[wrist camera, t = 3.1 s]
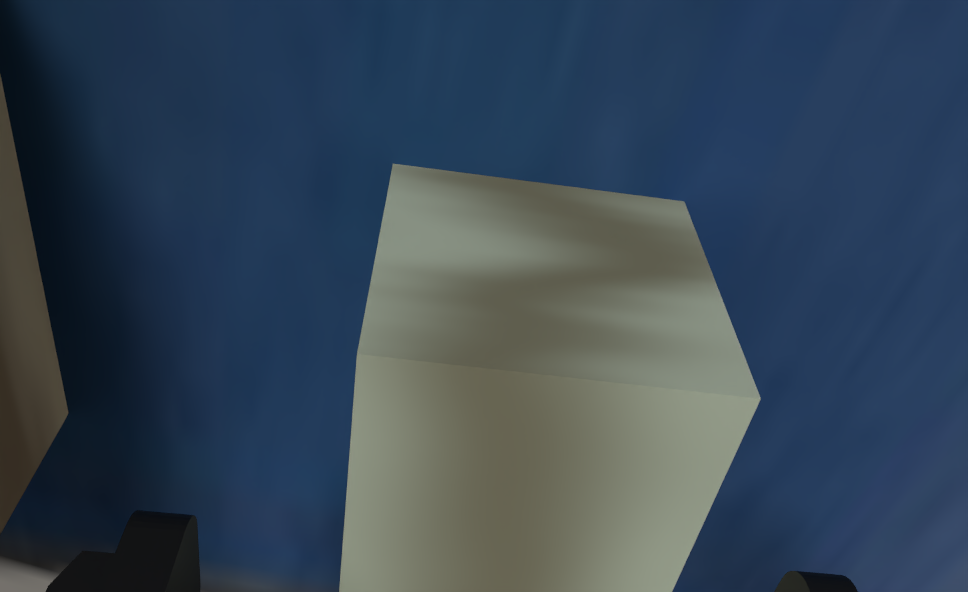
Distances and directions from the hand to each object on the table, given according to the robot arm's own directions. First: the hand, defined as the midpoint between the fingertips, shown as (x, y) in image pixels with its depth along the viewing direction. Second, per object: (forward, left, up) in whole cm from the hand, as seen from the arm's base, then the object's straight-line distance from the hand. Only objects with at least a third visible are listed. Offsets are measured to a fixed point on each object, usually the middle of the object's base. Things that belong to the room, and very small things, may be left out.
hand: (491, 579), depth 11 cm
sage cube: (-1, 0, -7) cm, 7 cm away
